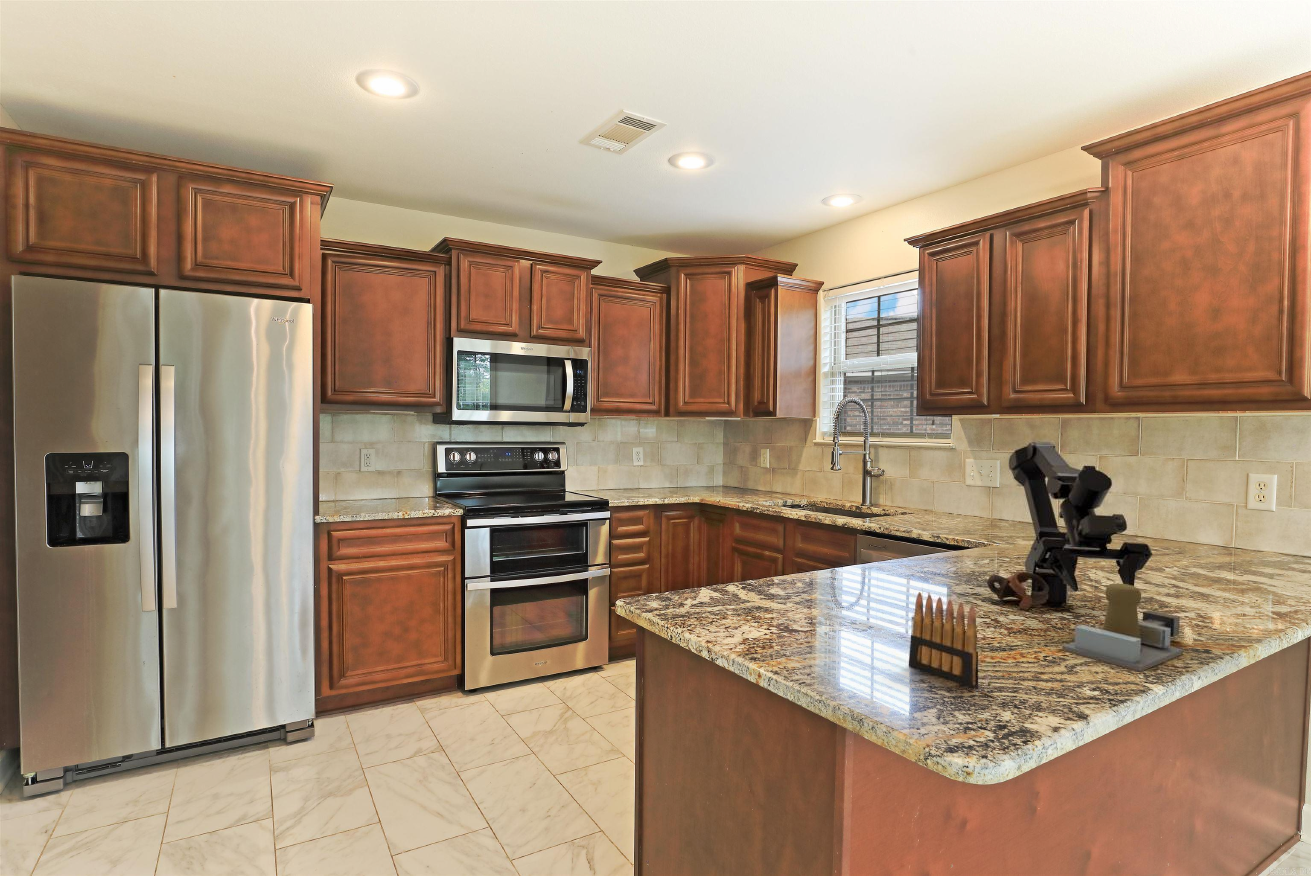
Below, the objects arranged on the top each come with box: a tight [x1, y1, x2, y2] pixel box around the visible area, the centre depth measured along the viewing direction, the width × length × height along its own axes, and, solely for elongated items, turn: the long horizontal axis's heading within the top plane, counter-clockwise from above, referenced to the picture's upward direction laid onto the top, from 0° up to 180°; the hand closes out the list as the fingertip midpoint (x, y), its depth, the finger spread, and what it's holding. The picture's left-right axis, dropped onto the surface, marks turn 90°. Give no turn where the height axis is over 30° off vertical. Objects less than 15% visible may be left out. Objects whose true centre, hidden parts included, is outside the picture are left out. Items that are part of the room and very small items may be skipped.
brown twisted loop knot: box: [986, 570, 1049, 611], centre depth 153 cm, size 12×10×8 cm
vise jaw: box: [1138, 609, 1181, 649], centre depth 128 cm, size 12×9×3 cm
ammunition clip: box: [908, 591, 979, 689], centre depth 107 cm, size 11×2×12 cm, turn 35°
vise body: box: [1061, 624, 1184, 673], centre depth 124 cm, size 25×12×4 cm, turn 124°
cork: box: [1102, 582, 1142, 652], centre depth 121 cm, size 6×6×11 cm
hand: (1103, 592), depth 129 cm, fingers open, 9 cm apart
